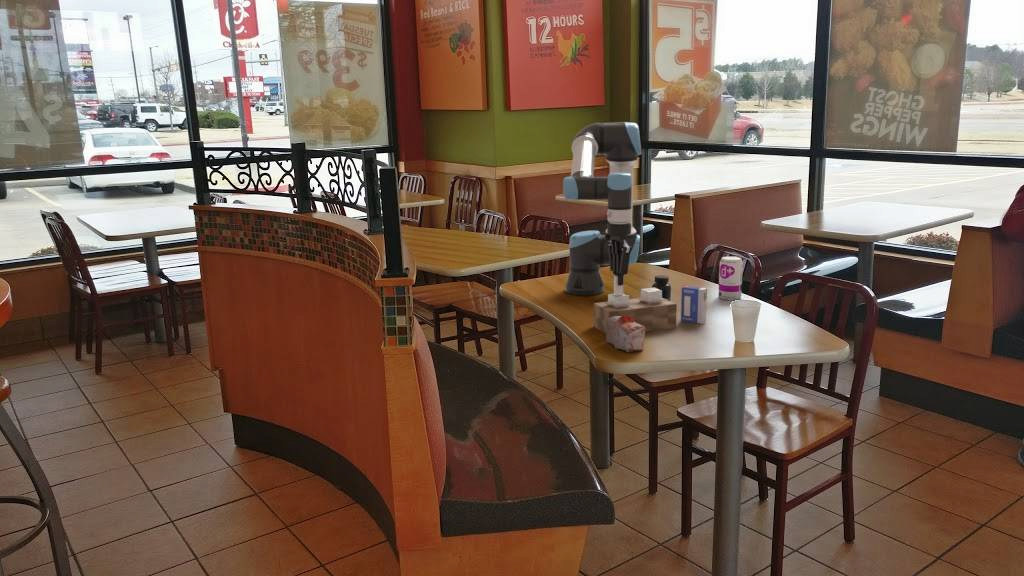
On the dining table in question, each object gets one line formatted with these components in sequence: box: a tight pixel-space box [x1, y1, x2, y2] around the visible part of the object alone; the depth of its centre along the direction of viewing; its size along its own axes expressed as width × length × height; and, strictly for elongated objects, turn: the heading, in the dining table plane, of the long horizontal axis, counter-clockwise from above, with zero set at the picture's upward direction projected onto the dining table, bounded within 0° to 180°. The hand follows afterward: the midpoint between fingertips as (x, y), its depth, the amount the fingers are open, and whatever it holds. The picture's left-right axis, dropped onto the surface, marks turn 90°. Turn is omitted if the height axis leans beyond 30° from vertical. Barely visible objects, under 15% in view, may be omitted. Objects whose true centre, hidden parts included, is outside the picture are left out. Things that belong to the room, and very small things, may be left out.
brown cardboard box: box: [593, 297, 678, 335], centre depth 269 cm, size 12×24×8 cm, turn 110°
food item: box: [605, 315, 646, 353], centre depth 248 cm, size 14×8×10 cm, turn 26°
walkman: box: [680, 285, 708, 325], centre depth 273 cm, size 8×3×12 cm, turn 56°
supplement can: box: [717, 255, 744, 301], centre depth 303 cm, size 8×8×15 cm
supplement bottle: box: [651, 274, 672, 302], centre depth 289 cm, size 7×7×12 cm
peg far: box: [640, 287, 662, 304], centre depth 270 cm, size 5×5×7 cm
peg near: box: [607, 292, 630, 308], centre depth 266 cm, size 5×5×7 cm
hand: (618, 294), depth 265 cm, fingers closed
